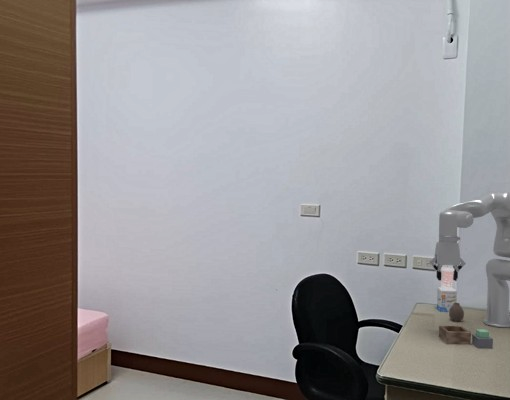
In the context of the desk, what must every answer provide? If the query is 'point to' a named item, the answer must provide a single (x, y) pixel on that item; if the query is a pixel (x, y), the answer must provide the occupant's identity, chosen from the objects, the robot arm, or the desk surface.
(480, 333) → the button
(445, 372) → the desk surface
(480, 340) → the button housing
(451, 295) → the ink box
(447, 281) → the beverage cup
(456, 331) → the open wooden cube shelf
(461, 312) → the vase
